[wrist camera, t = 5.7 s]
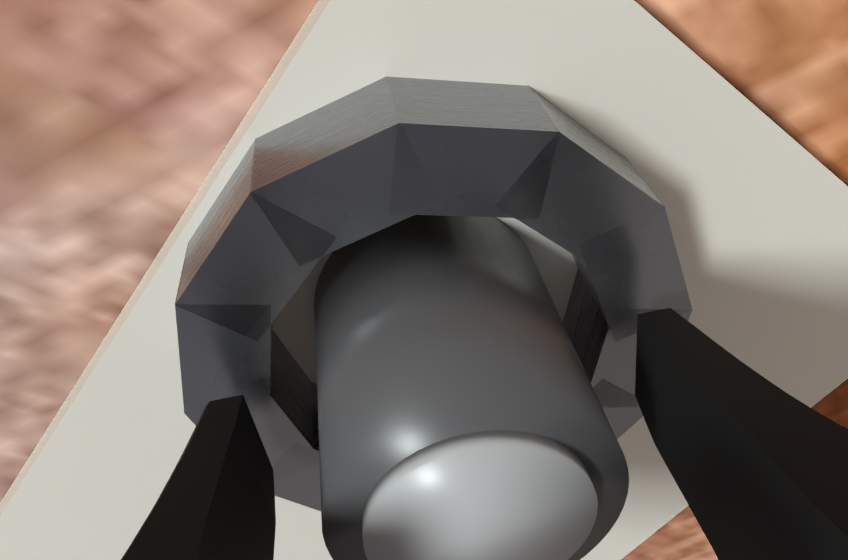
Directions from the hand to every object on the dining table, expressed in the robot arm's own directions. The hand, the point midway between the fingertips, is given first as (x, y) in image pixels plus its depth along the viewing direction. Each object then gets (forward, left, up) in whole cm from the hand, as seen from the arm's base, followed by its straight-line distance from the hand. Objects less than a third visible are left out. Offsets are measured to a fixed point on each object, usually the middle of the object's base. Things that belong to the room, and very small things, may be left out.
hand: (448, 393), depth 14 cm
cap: (0, 0, -3) cm, 3 cm away
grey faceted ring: (0, 0, -4) cm, 4 cm away
